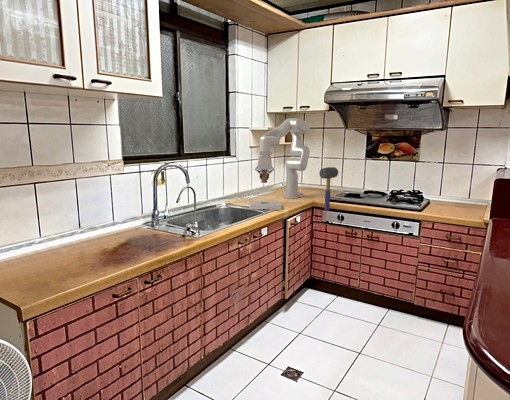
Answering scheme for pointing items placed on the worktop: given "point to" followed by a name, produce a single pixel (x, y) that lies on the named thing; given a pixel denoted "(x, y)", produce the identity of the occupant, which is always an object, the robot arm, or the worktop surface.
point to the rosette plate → (265, 205)
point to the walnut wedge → (264, 176)
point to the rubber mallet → (328, 183)
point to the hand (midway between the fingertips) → (264, 179)
